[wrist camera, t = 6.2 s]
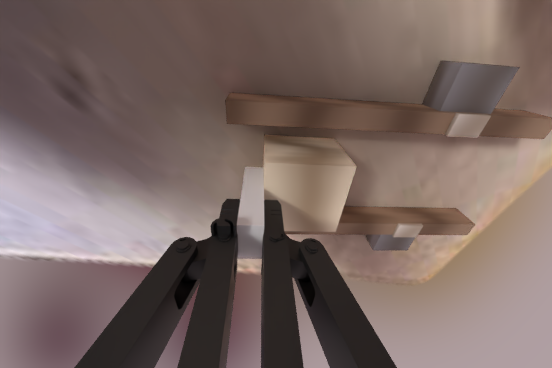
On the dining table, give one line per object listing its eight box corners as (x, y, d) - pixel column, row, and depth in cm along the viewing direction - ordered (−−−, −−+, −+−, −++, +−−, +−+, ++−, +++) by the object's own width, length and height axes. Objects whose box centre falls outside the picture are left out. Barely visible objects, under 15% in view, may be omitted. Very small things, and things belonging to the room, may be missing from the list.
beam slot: (237, 235, 24) (234, 257, 21) (227, 43, 14) (221, 43, 12) (436, 236, 26) (454, 256, 23) (552, 69, 16) (602, 74, 14)
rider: (261, 193, 21) (261, 230, 17) (264, 134, 17) (265, 162, 13) (321, 195, 21) (335, 232, 17) (334, 138, 18) (356, 166, 14)
